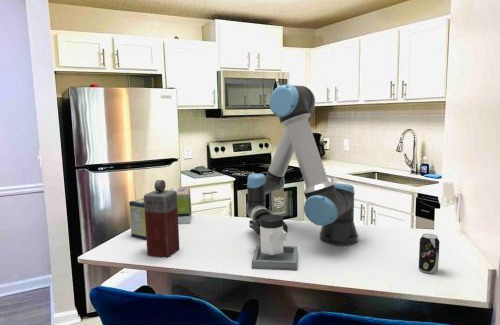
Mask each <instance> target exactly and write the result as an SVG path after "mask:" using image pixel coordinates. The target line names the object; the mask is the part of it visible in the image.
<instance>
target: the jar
mask: <svg viewBox="0 0 500 325" xmlns="http://www.w3.org/2000/svg"><path fill="white" fill-rule="evenodd" d="M283 221H284V217H283V216H282V215H279V214H273V213H271V214H270V215H264V216H261V217H260V235H259V236H260V245H261V253H264V254H269V255H275V254H279V253H283V246H284V240H283V239H282V231H283ZM270 233H273V242H271V241H270Z"/></svg>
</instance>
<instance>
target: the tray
mask: <svg viewBox="0 0 500 325" xmlns="http://www.w3.org/2000/svg"><path fill="white" fill-rule="evenodd" d="M255 247H256V248H255V250H254V253H253V256H252V259H251V269H256V270H261V269H262V270H280V271H283V270H286V271H297V264H298V262H297V261H298V246H297V245H296V246H294V245H293V246H292V245H283V253H279V254H275V255H269V254H264V253H261V244H257V245H256V246H255Z"/></svg>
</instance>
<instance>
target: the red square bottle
mask: <svg viewBox="0 0 500 325" xmlns="http://www.w3.org/2000/svg"><path fill="white" fill-rule="evenodd" d="M165 188H166V181H165V180H163V179H157V180H155V182H154V190H153V191H150V192H147V193H145V194H144V195H143V198H144V210H145V226H146V240H145V241H146V255H147V256H148V257H155V258H157V257H158V258H163V257H165V258H166V259H169V258H170V257H172V256H171V255H173V256H174V254H176V253H177V252H178V251H180V232H179V231H180V230H179V224H178V207H177V192H176V191H171V189H170V190H168V189H165ZM168 257H169V258H168Z"/></svg>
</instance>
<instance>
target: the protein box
mask: <svg viewBox="0 0 500 325" xmlns="http://www.w3.org/2000/svg"><path fill="white" fill-rule="evenodd" d="M128 203H129V218H130V235H131V237H133V238H137V239H142V240H145V241H146V226H145V210H144V197H142V198H138V199H135V200H131V201H129V202H128Z"/></svg>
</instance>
